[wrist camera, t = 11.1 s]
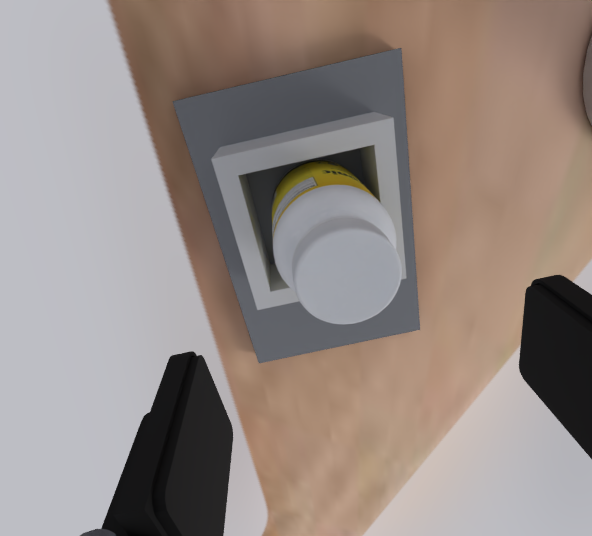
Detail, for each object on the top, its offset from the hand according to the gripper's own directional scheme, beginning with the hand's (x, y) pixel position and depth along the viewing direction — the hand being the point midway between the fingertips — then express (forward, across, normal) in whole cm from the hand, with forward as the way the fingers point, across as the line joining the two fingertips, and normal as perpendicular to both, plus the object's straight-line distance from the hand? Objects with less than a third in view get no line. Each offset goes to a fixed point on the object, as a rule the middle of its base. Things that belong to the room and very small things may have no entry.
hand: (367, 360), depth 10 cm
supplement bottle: (+14, 0, 0) cm, 14 cm away
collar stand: (+15, 0, +2) cm, 15 cm away
